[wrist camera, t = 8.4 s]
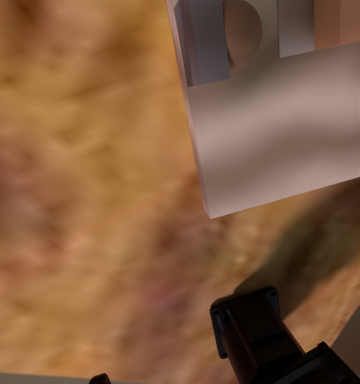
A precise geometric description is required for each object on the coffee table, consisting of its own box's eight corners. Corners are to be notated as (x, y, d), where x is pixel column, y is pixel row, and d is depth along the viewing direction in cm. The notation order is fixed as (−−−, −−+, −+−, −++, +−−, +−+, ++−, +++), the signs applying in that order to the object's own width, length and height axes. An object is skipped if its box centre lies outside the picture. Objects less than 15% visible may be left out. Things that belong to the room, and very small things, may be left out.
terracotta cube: (343, 44, 16) (372, 37, 14) (314, 50, 16) (339, 44, 14) (345, -15, 15) (376, -30, 13) (314, -9, 15) (341, -24, 13)
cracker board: (414, 152, 23) (483, 165, 18) (204, 210, 20) (227, 241, 16) (454, -135, 16) (578, -221, 12) (148, -96, 14) (161, -185, 9)
